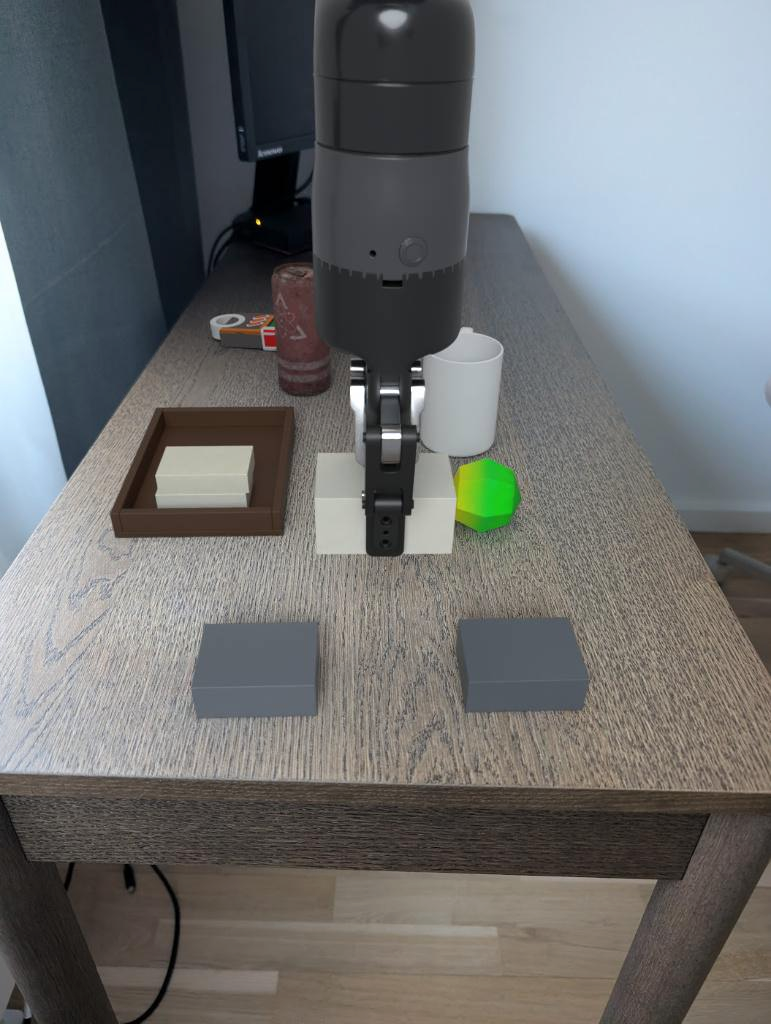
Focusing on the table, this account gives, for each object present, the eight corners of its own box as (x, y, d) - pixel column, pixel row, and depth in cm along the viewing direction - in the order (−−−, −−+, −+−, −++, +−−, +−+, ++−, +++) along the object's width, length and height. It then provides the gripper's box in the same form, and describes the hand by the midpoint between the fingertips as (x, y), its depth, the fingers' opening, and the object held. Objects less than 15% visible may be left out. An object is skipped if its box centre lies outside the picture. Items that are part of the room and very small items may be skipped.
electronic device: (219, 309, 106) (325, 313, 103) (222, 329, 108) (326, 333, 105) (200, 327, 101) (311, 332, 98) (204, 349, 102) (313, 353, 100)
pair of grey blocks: (196, 718, 51) (190, 688, 50) (209, 653, 56) (204, 623, 55) (582, 710, 52) (590, 679, 51) (562, 646, 57) (568, 616, 56)
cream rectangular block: (316, 554, 45) (314, 498, 43) (319, 506, 50) (317, 452, 47) (451, 554, 46) (456, 498, 43) (443, 506, 50) (447, 452, 48)
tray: (115, 538, 68) (109, 513, 66) (159, 428, 84) (156, 407, 82) (282, 535, 68) (280, 511, 67) (295, 427, 84) (294, 406, 83)
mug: (493, 461, 79) (503, 365, 73) (416, 455, 80) (419, 360, 74) (495, 406, 89) (505, 318, 83) (427, 401, 89) (431, 314, 83)
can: (331, 397, 90) (327, 278, 82) (276, 397, 90) (267, 277, 82) (333, 375, 95) (330, 260, 87) (281, 374, 95) (273, 260, 87)
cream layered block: (158, 513, 70) (151, 476, 67) (169, 482, 74) (162, 446, 71) (251, 512, 70) (247, 474, 68) (256, 481, 74) (253, 445, 72)
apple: (528, 451, 66) (423, 445, 66) (526, 524, 64) (418, 517, 65) (517, 475, 73) (421, 470, 73) (515, 541, 71) (417, 535, 72)
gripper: (317, 204, 43) (325, 463, 53) (304, 293, 32) (317, 604, 41) (451, 206, 44) (433, 463, 53) (487, 294, 32) (456, 603, 42)
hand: (383, 523), depth 47 cm, fingers closed on cream rectangular block, 5 cm apart
